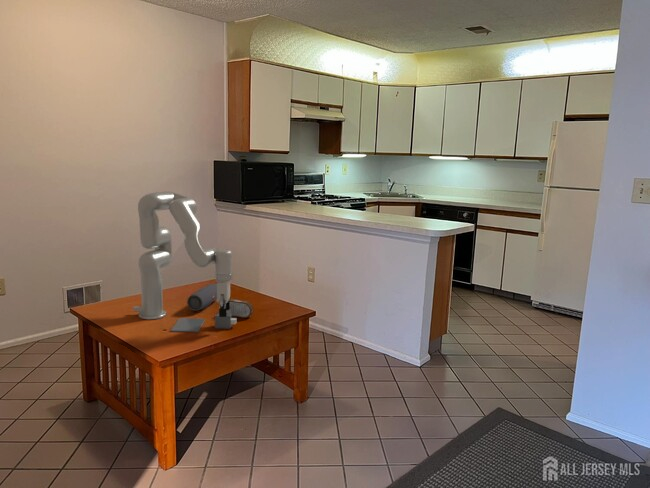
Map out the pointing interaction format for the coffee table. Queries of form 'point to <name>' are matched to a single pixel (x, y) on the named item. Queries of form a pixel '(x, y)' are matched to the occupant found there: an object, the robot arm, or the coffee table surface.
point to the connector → (224, 321)
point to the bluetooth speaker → (202, 297)
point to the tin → (240, 308)
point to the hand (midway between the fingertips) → (224, 313)
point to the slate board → (187, 325)
